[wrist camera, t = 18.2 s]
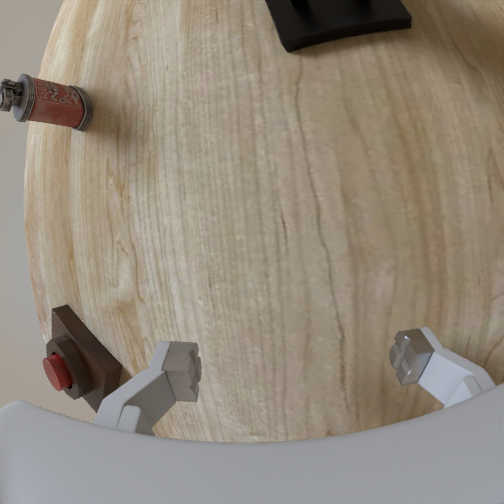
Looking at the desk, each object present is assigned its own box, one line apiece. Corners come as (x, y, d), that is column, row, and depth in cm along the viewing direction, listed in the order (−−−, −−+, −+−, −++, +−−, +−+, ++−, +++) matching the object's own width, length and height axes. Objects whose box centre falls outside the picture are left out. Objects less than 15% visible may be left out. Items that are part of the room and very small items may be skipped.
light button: (73, 370, 21) (59, 377, 19) (73, 391, 22) (61, 397, 20) (54, 346, 22) (41, 351, 21) (55, 368, 23) (44, 373, 22)
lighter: (63, 106, 24) (-8, 94, 15) (76, 81, 22) (4, 64, 13) (81, 138, 22) (-8, 127, 13) (97, 108, 21) (6, 89, 12)
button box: (122, 365, 23) (90, 381, 19) (115, 409, 25) (89, 425, 21) (67, 304, 26) (38, 312, 22) (65, 353, 28) (41, 362, 24)
